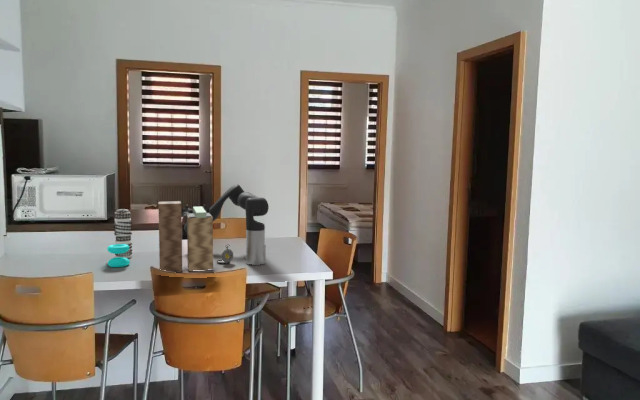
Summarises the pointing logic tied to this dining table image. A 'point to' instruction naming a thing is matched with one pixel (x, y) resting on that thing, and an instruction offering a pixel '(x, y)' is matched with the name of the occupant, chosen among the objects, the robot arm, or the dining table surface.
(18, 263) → the dining table surface
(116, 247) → the donuts
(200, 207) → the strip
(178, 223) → the walnut stand
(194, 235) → the oak block
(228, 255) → the pocket watch
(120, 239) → the decorative candle
